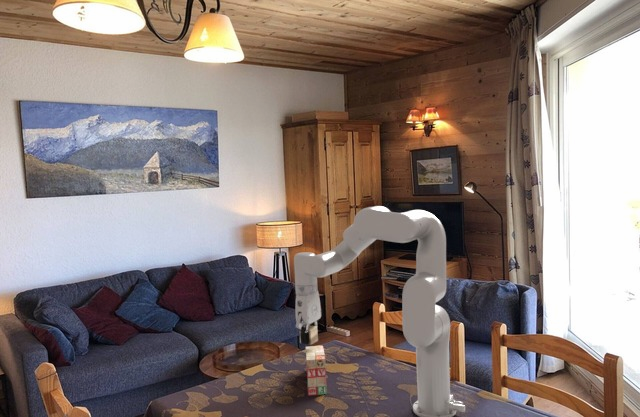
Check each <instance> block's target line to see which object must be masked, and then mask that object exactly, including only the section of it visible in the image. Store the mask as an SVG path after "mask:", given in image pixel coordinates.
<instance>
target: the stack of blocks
mask: <svg viewBox="0 0 640 417" xmlns="http://www.w3.org/2000/svg"><path fill="white" fill-rule="evenodd" d="M305 359H306V377H307V378H306V379H307V396H321V395H322V396H323V395H324V394H325V395H327V394H328V393H327V392H328V390H327V389H328V388H327V372H326V370H327V368H326V354H325V349H324V346H323V345H311V346H305Z"/></svg>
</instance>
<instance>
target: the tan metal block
mask: <svg viewBox="0 0 640 417" xmlns="http://www.w3.org/2000/svg"><path fill="white" fill-rule="evenodd" d="M303 326H304V327H305V325H303ZM308 332H309V340H310V344H309V345H311V346H313V344H315V343H317V342H319V336H318V335H319V334H318V332H319V330H318V326H310V325H308ZM299 343H300V344H302V343H301V336H300V335H299Z"/></svg>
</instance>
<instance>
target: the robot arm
mask: <svg viewBox="0 0 640 417" xmlns="http://www.w3.org/2000/svg"><path fill="white" fill-rule="evenodd" d="M342 238H343V240H342V241H341V242H340V243H339V244H337V245H336V246H335V247H334V248H333V249H331V250H329V251H325V252H322V253H319V254H315V253H314V252H309V251H308V252H307V251H305V252H304V251H303V252H298V253H295V255H294V257H293V266H294V267H293V268H294V282H295V284H294V287H295V310H294V312H295V322H296V323H295V328H297V329H298V331H299V337H300V336H301V343H300V344H303V345H310V340H309V332H308V325H310V326H317V327H318V322H319V320H320V319H322V318H321V317H322V307H321V300H320V294H319V289H318V288H319V287H318V278H326V277H327V276H330V275H332V274H335V273H338V272H340V271H341V270H343V269H345V268H346V267H348V265H350V264H351V263H352V262H354V260H356V258H358V257H359V256H360V254H361V253H362V251H364V250H365V249H367V248H368V247H369V246H370V245H372V244H373V243H374V242H375V241H376V240H380V241H386V242H392V243H400V244H405V243H410V242H413V241H416V240H417V242H418V243H417V248H416V255H415V257H416V258H415V260H416V265H415V266H416V267H415V268H416V269H415V275H413V276H411V277H410V278H408V280H406V282H405V283H404V286H403V288H402V294H401V295H402V297H401V298H402V300H401V302H402V304H401V305H402V308H401V310H402V314H401V315H402V316H401V317H402V319H401V320H402V321H401V322H402V323H401V324H402V332H403V336H404V338H405V340H406V341H407V342H408V344H410V345H411V346H412V347H414V348H415V356H416V357H415V359H416V360H415V361H416V386H417V400H416V401H415V402H414V403H413V404H412V411H413V413H414V414H415V415H417V417H454V416H455V415H456V414H457V412H460V413H461V412H462V413H465V412H466V405H464V401H460V400H456V399H454V394H451V378H450V377H451V376H450V374H451V372H450V335H451V334H450V333H451V320H450V316H449V314H448V312H447V311H446V309H445V308H443V307H442V306H440V305H438V304H436V303H438V302H439V301H440V300H441V299H443V298H444V296H445V295H446V293H447V235H446V231H445V228H444V225H443V224H442V221H441V220H440V219H438V218H437V217H436V216H435V214H433V213H431V212H429V211H426V210H423V209H412V210H408V211H404V212H394V211H391V210H390V209H389V208H388V207H385V206H382V205H375V206H374V205H373V206H368V207H365V208H362V209H360V210H359V211H358V212H357V213H356V214H355V216H354V218H353V222H352V224H351V225H349V226H348V227H347V228H346V229H345V230H344V231H343V233H342ZM304 326H305V327H304Z"/></svg>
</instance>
